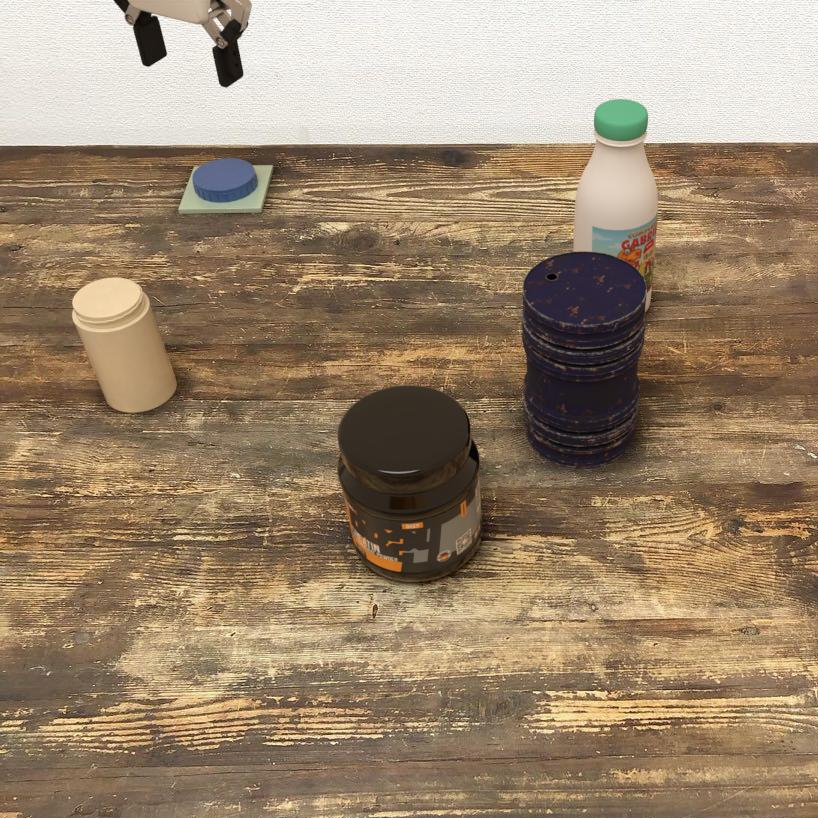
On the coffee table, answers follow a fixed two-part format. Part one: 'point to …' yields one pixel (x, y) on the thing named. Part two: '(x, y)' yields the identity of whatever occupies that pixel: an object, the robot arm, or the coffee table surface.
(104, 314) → the beige jar
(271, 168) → the tile
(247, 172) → the lid
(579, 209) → the milk bottle
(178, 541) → the coffee table surface
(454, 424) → the supplement container
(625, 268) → the storage jar
